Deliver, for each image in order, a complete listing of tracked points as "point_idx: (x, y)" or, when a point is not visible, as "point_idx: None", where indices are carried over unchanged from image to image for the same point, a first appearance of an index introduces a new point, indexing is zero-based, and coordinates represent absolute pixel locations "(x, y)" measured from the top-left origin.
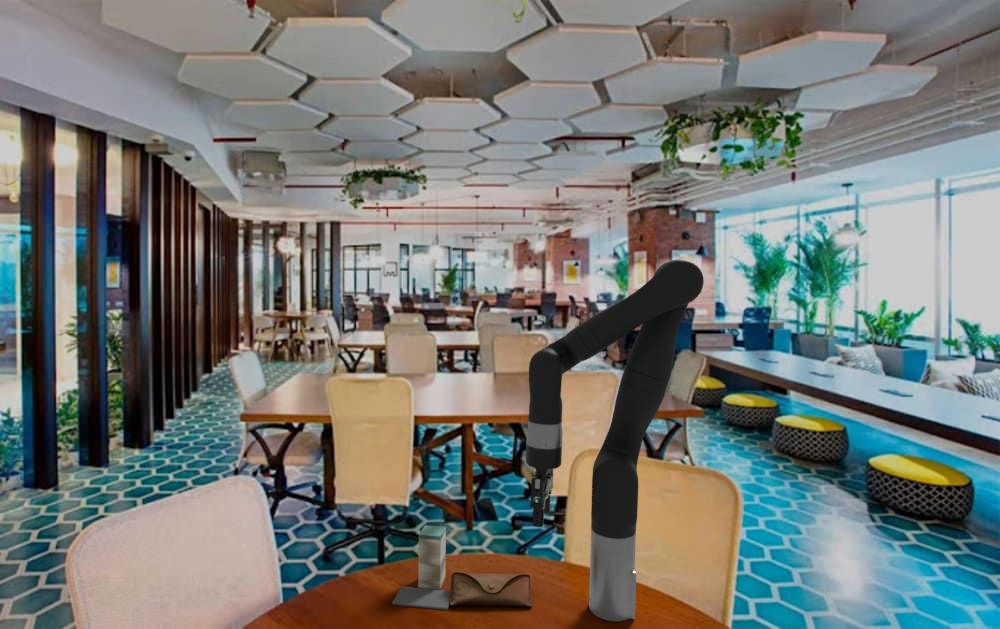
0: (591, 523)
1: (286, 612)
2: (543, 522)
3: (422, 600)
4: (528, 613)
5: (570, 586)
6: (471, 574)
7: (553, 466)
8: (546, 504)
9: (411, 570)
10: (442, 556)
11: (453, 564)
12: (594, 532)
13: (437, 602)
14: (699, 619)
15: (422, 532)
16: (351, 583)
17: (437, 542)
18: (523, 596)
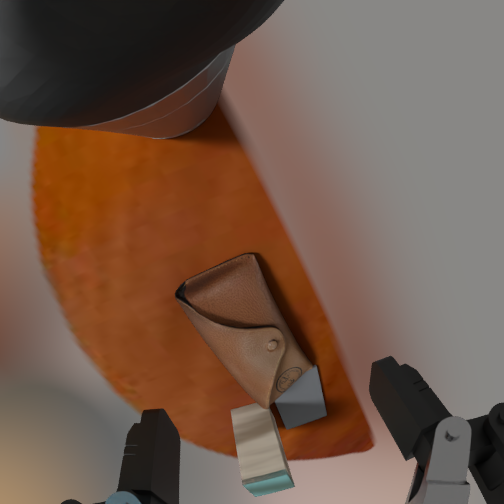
0: (142, 100)
1: (363, 448)
2: (382, 370)
3: (310, 398)
4: (270, 249)
5: (117, 208)
6: (264, 389)
7: None
8: (163, 451)
9: None
10: (260, 442)
11: (185, 418)
12: (205, 68)
13: (307, 383)
14: None
15: (284, 488)
16: (298, 456)
17: (285, 466)
18: (249, 280)
